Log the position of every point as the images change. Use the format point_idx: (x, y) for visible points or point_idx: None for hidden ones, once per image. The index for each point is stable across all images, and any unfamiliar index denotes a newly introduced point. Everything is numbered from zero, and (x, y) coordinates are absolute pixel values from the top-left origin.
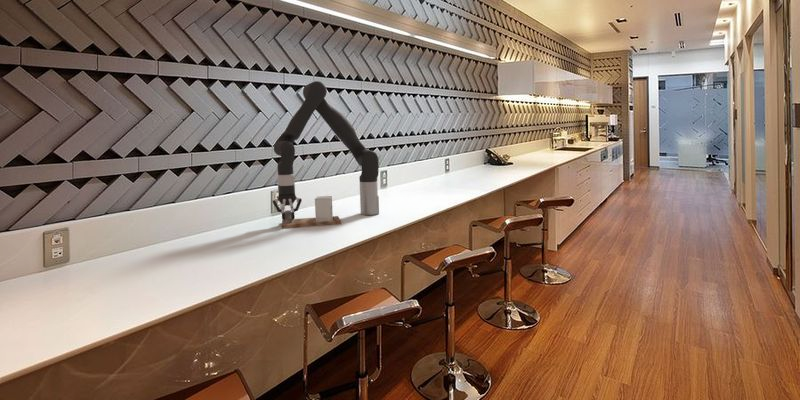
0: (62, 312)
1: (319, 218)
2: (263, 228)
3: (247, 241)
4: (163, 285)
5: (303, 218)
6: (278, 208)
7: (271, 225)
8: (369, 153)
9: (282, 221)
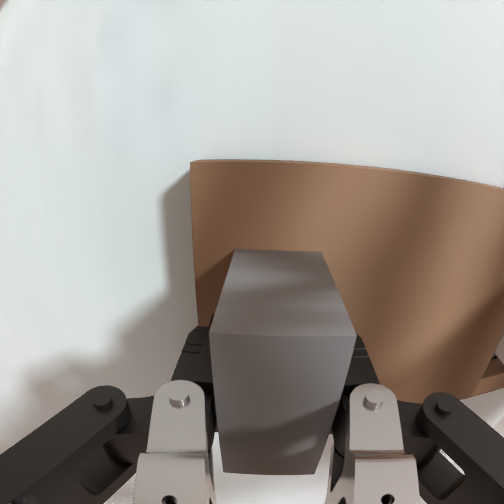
0: None
1: None
2: (66, 318)
3: None
4: None
5: (463, 190)
6: (115, 483)
7: (98, 230)
8: None
9: (199, 269)
